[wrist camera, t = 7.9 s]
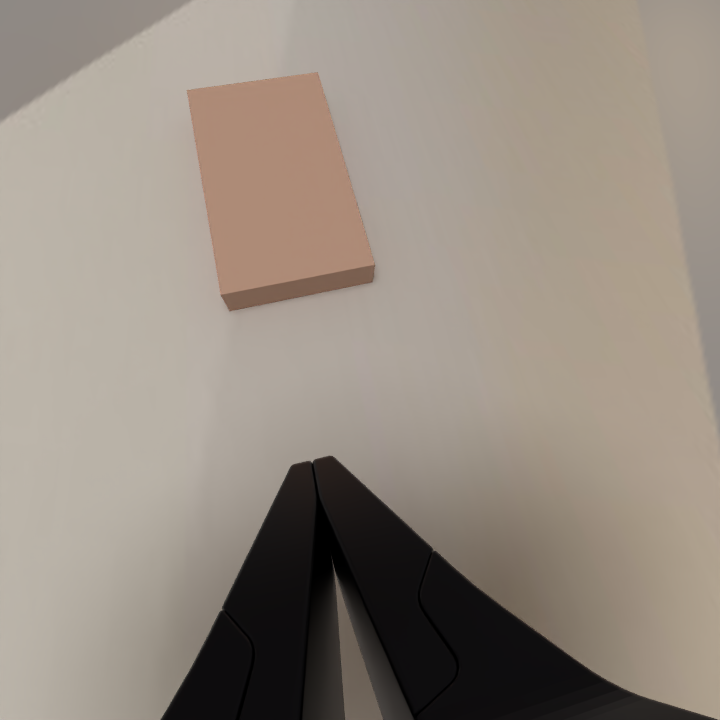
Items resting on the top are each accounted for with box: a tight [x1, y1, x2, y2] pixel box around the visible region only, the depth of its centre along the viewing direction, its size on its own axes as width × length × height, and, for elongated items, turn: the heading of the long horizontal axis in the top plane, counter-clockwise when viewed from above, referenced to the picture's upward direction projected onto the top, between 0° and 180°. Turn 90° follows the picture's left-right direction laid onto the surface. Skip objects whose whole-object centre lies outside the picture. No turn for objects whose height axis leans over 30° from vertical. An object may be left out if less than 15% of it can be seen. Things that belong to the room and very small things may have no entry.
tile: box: [187, 72, 375, 311], centre depth 25 cm, size 2×8×14 cm
